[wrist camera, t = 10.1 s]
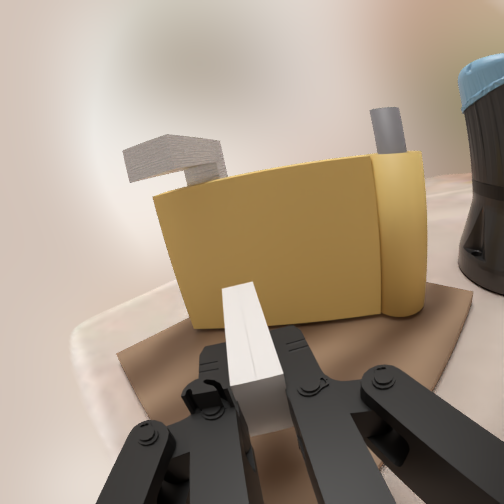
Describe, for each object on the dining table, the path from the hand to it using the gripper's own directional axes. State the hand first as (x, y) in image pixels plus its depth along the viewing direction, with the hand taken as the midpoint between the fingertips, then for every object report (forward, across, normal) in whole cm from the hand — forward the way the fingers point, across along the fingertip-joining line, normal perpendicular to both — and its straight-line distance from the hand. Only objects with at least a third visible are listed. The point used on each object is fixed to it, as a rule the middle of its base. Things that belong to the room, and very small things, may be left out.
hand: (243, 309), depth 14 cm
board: (+5, +4, -8) cm, 10 cm away
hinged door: (+7, +5, -6) cm, 11 cm away
